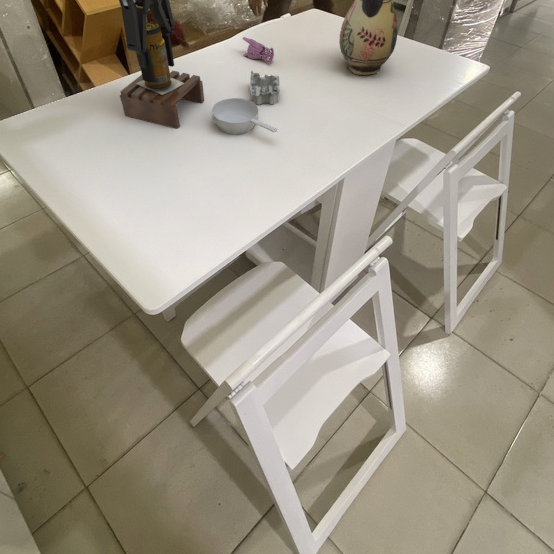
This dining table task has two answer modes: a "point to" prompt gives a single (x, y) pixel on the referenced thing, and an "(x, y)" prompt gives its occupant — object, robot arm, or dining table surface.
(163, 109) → the rack
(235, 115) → the saucepan
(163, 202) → the dining table surface
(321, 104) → the dining table surface
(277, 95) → the egg carton
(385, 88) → the dining table surface
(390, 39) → the ceramic jug
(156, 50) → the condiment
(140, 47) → the robot arm
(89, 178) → the dining table surface
